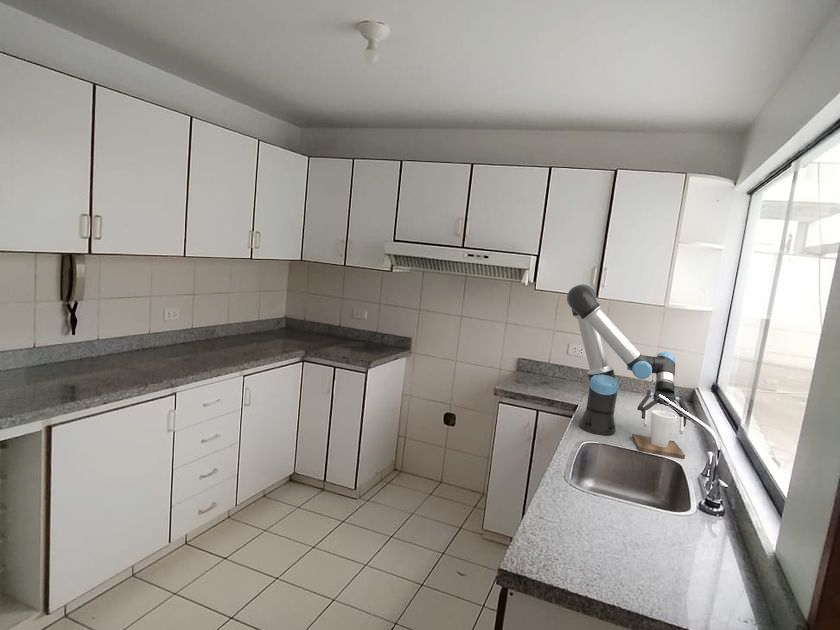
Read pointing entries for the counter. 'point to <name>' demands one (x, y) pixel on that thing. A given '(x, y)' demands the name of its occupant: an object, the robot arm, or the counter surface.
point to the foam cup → (661, 427)
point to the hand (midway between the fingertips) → (663, 429)
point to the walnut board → (646, 446)
